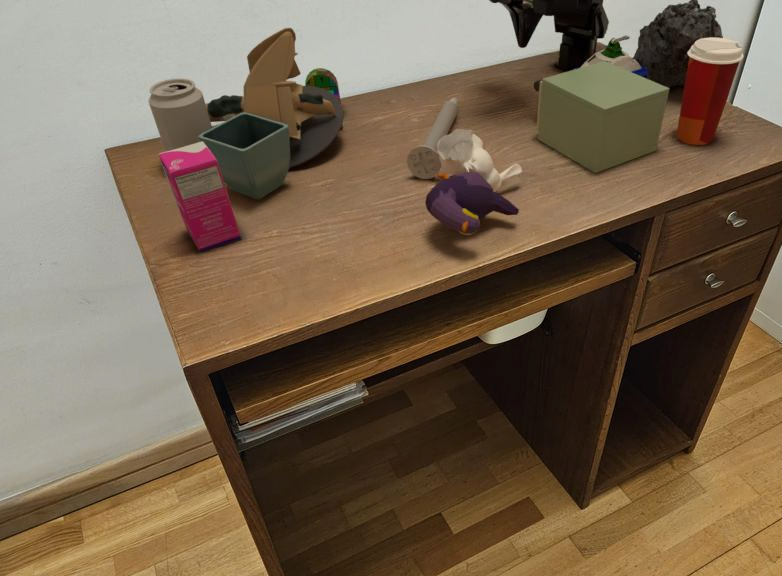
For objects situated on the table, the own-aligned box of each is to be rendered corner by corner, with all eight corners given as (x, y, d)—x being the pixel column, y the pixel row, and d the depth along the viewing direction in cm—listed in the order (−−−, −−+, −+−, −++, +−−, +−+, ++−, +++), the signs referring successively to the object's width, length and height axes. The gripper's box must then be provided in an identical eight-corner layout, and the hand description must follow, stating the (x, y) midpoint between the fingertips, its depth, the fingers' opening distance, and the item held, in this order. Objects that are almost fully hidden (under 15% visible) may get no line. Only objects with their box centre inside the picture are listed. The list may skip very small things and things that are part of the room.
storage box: (537, 139, 103) (542, 78, 96) (596, 119, 108) (604, 60, 101) (595, 173, 95) (604, 109, 88) (656, 150, 99) (669, 88, 93)
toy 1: (227, 101, 107) (178, 15, 94) (343, 77, 105) (309, -14, 92) (216, 182, 97) (160, 99, 84) (343, 157, 95) (306, 68, 82)
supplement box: (185, 233, 85) (156, 151, 77) (229, 219, 87) (205, 139, 79) (197, 254, 81) (168, 171, 73) (243, 239, 84) (219, 157, 76)
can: (230, 155, 101) (209, 78, 92) (203, 178, 96) (178, 98, 87) (190, 149, 103) (165, 72, 94) (160, 171, 97) (132, 92, 89)
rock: (714, 107, 111) (742, 14, 100) (633, 104, 112) (653, 10, 101) (695, 71, 123) (719, -17, 112) (623, 68, 123) (639, -19, 113)
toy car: (650, 96, 114) (661, 39, 107) (598, 111, 110) (606, 53, 103) (614, 79, 120) (623, 25, 113) (563, 93, 115) (569, 37, 109)
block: (294, 110, 113) (286, 70, 108) (341, 106, 114) (335, 66, 109) (292, 139, 104) (283, 97, 99) (343, 134, 105) (336, 92, 100)
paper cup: (714, 127, 105) (739, 36, 95) (724, 149, 99) (751, 54, 90) (665, 126, 105) (685, 35, 96) (672, 147, 100) (694, 53, 90)
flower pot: (259, 211, 89) (243, 150, 82) (214, 195, 92) (195, 135, 86) (301, 183, 94) (289, 124, 88) (257, 169, 97) (243, 111, 91)
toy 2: (490, 239, 88) (524, 213, 83) (438, 257, 80) (472, 228, 75) (450, 172, 89) (481, 142, 84) (394, 182, 80) (425, 150, 76)
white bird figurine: (468, 171, 81) (505, 218, 88) (507, 126, 82) (540, 177, 88) (421, 151, 90) (457, 195, 97) (456, 110, 90) (490, 157, 97)
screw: (445, 118, 114) (472, 111, 112) (414, 182, 95) (445, 174, 93) (436, 90, 111) (463, 82, 109) (401, 150, 92) (434, 142, 90)
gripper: (449, -65, 99) (451, 42, 109) (525, -42, 87) (519, 75, 98) (506, -75, 103) (503, 29, 114) (586, -54, 92) (574, 59, 102)
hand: (522, 47), depth 107 cm, fingers closed
